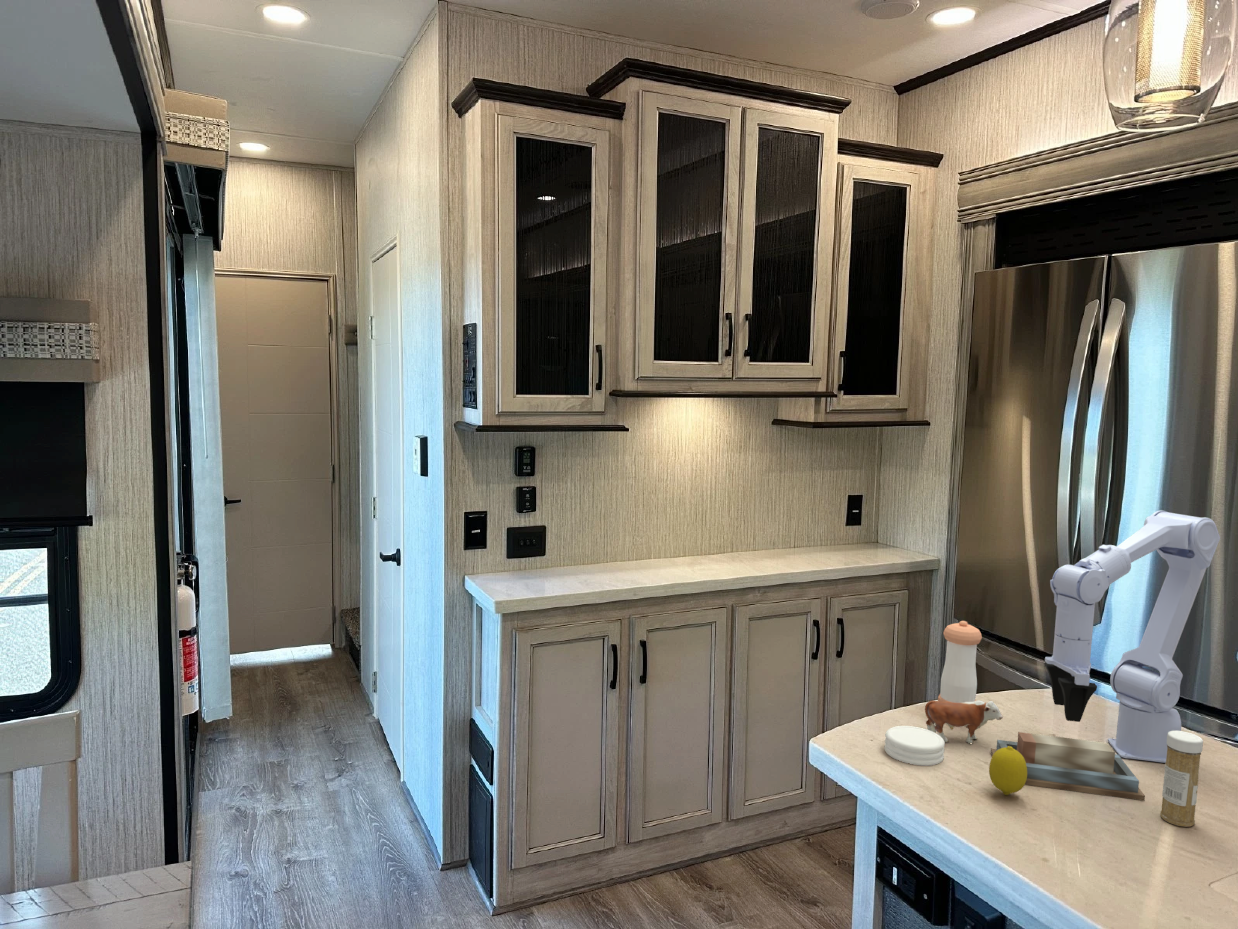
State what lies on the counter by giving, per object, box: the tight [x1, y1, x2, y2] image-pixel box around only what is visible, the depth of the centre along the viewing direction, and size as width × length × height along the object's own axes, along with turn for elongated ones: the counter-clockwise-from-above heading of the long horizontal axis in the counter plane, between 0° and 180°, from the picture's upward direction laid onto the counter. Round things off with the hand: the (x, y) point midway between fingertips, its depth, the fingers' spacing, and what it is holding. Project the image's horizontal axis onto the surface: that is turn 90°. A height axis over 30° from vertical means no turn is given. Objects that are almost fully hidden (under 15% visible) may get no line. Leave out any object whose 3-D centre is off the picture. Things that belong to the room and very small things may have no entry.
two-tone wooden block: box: [1016, 731, 1116, 774], centre depth 147 cm, size 14×4×5 cm, turn 77°
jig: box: [990, 739, 1146, 802], centre depth 147 cm, size 21×12×3 cm, turn 76°
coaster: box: [884, 725, 946, 767], centre depth 154 cm, size 10×10×4 cm
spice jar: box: [1159, 730, 1204, 827], centre depth 132 cm, size 5×5×13 cm
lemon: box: [988, 746, 1027, 796], centre depth 139 cm, size 6×6×8 cm
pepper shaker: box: [937, 620, 983, 703], centre depth 172 cm, size 7×7×19 cm
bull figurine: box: [924, 700, 1004, 745], centre depth 160 cm, size 4×13×8 cm, turn 78°
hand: (1066, 712), depth 151 cm, fingers open, 7 cm apart
